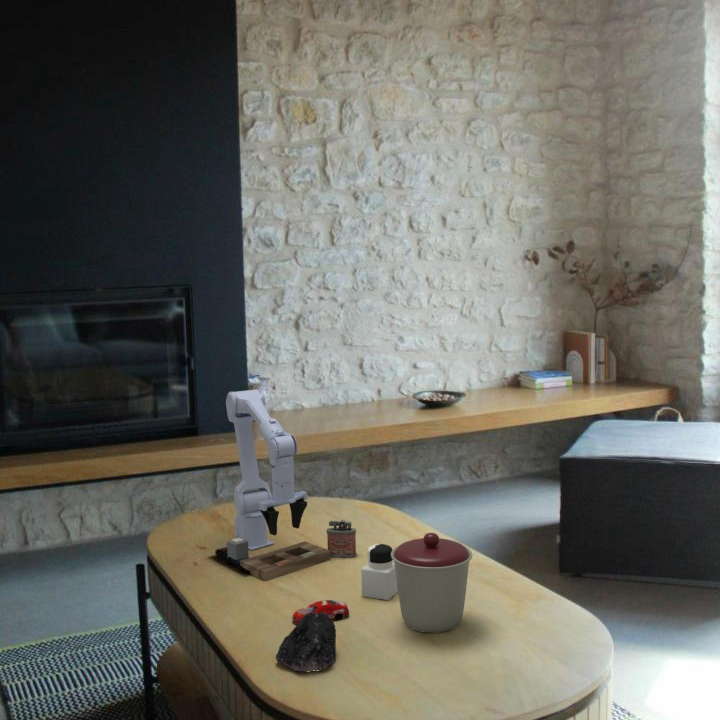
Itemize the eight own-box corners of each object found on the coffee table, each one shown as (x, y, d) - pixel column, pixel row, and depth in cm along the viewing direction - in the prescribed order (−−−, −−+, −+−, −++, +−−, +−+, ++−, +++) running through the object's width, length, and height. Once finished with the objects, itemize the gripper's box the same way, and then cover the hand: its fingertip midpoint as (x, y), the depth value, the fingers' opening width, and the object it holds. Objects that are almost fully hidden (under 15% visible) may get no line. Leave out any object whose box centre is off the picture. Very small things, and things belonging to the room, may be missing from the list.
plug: (227, 562, 255) (227, 539, 255) (240, 559, 258) (239, 536, 257) (236, 566, 252) (235, 543, 252) (248, 562, 255) (247, 539, 254)
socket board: (239, 570, 250) (239, 559, 249) (305, 549, 264) (304, 540, 264) (265, 581, 242) (264, 570, 241) (330, 559, 256) (330, 549, 256)
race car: (295, 629, 213) (295, 612, 212) (289, 620, 218) (288, 603, 217) (351, 620, 217) (351, 603, 217) (344, 611, 222) (343, 594, 222)
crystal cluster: (286, 683, 189) (290, 637, 187) (265, 650, 201) (268, 607, 199) (348, 674, 194) (352, 629, 192) (324, 643, 206) (327, 600, 204)
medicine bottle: (399, 590, 233) (399, 543, 232) (388, 601, 227) (387, 552, 225) (373, 586, 236) (372, 540, 235) (361, 596, 230) (360, 549, 228)
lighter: (357, 554, 260) (356, 518, 259) (356, 558, 257) (355, 522, 255) (328, 553, 261) (327, 518, 259) (326, 557, 258) (325, 522, 256)
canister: (379, 616, 218) (377, 527, 215) (448, 602, 225) (447, 516, 222) (414, 647, 202) (412, 551, 199) (487, 631, 209) (487, 539, 206)
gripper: (270, 489, 241) (272, 541, 243) (314, 478, 250) (315, 528, 252) (253, 484, 246) (255, 534, 248) (297, 473, 256) (298, 522, 258)
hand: (284, 531), depth 250 cm, fingers open, 7 cm apart
